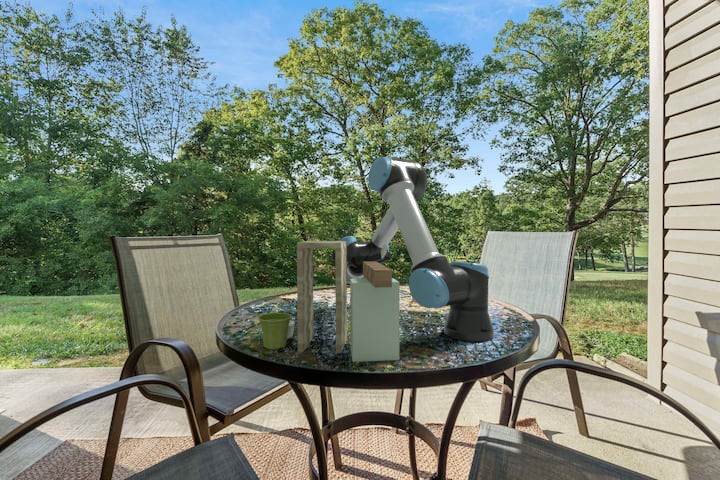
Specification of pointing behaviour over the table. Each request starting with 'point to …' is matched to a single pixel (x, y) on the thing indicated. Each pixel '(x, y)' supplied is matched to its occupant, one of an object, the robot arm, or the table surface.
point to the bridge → (307, 291)
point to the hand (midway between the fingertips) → (364, 248)
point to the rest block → (374, 321)
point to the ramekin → (290, 329)
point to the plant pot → (275, 329)
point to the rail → (377, 274)
